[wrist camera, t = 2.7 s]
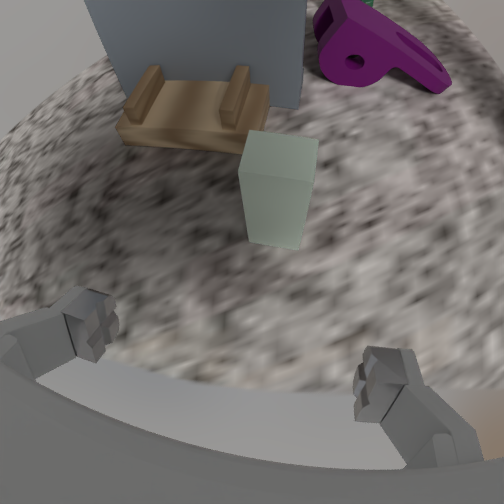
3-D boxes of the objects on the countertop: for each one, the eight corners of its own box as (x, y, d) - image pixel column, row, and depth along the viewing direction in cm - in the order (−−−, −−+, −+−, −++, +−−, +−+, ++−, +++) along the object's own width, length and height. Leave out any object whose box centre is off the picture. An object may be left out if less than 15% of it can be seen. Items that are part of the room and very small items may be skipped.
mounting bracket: (402, 86, 40) (302, 30, 34) (437, 55, 33) (335, -14, 27) (417, 130, 37) (305, 69, 31) (460, 97, 29) (347, 17, 23)
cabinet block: (303, 217, 26) (318, 139, 17) (298, 250, 25) (313, 182, 16) (256, 209, 27) (249, 129, 17) (249, 242, 26) (237, 171, 17)
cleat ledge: (269, 105, 31) (269, 65, 26) (256, 156, 29) (254, 115, 24) (149, 99, 33) (135, 64, 28) (125, 145, 30) (105, 110, 25)
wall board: (302, 81, 32) (311, -62, 16) (298, 109, 31) (307, -52, 14) (144, 74, 35) (102, -42, 18) (128, 100, 33) (74, -23, 16)
